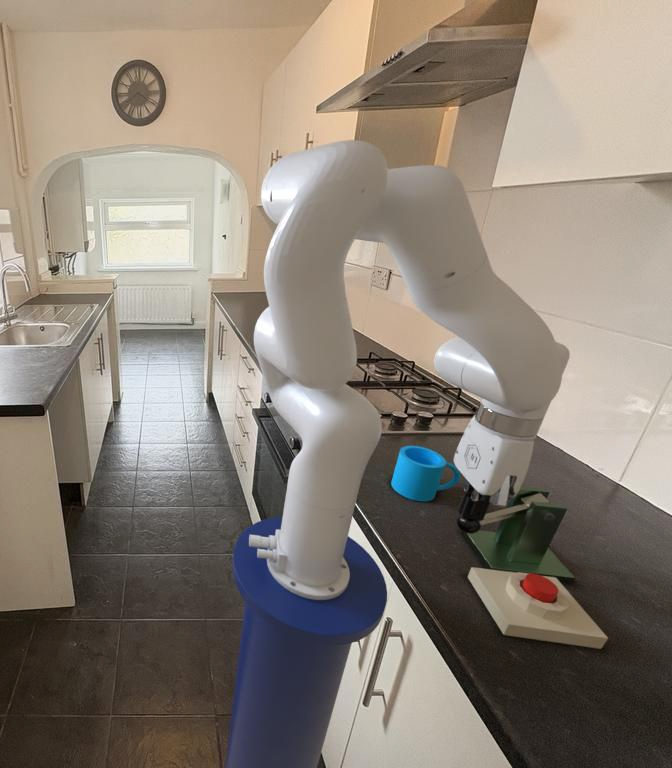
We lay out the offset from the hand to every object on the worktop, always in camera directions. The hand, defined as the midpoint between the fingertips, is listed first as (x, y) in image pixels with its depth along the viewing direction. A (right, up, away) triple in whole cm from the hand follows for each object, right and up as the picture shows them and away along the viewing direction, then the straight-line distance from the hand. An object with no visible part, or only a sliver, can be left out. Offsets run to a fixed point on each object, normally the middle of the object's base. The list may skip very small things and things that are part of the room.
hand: (469, 515), depth 69 cm
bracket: (+9, -8, +2) cm, 12 cm away
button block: (+3, -12, -8) cm, 14 cm away
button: (+3, -8, -9) cm, 13 cm away
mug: (+4, -1, +18) cm, 19 cm away
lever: (+5, -1, -1) cm, 5 cm away
